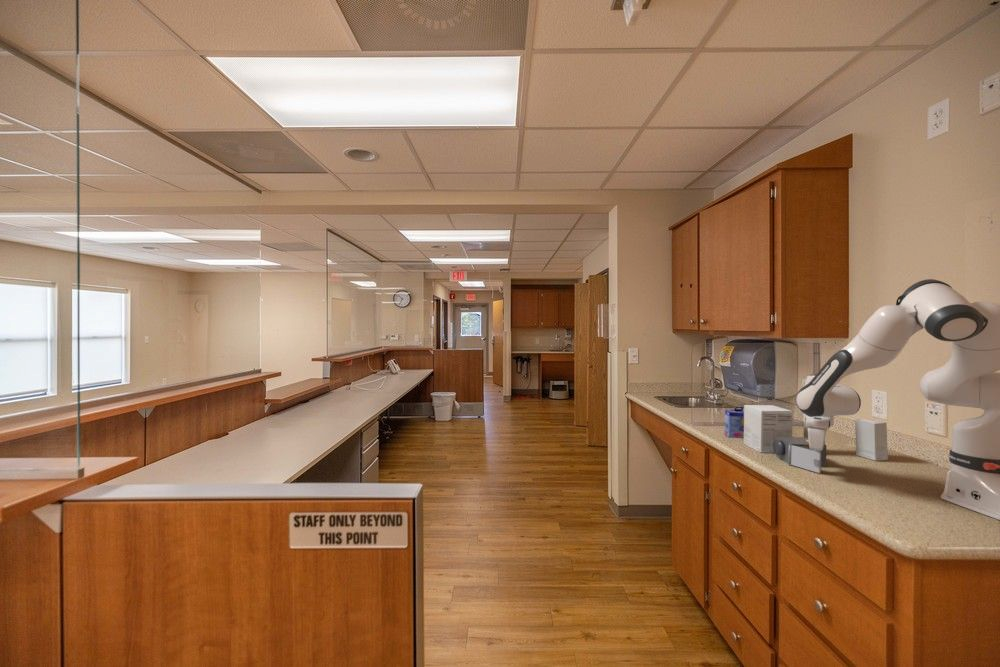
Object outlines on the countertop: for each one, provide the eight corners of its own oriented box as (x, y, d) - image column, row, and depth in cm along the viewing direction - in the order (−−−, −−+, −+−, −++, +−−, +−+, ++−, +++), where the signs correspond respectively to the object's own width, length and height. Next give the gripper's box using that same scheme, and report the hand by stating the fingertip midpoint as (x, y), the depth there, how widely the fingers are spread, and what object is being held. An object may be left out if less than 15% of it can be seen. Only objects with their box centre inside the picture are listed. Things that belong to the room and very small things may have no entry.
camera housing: (826, 466, 157) (826, 443, 157) (787, 465, 159) (787, 441, 159) (807, 457, 168) (808, 435, 168) (771, 456, 170) (771, 434, 170)
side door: (818, 473, 149) (818, 452, 149) (787, 464, 159) (787, 444, 159) (820, 472, 150) (821, 452, 150) (789, 463, 159) (789, 444, 159)
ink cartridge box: (728, 437, 197) (729, 406, 197) (723, 434, 203) (724, 404, 203) (751, 438, 197) (751, 407, 196) (745, 435, 202) (745, 405, 202)
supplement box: (793, 453, 174) (794, 411, 173) (760, 453, 174) (761, 410, 174) (772, 444, 187) (773, 404, 187) (742, 443, 187) (743, 404, 187)
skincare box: (888, 460, 165) (889, 422, 165) (874, 461, 164) (875, 423, 164) (866, 454, 173) (867, 418, 173) (853, 454, 172) (854, 418, 172)
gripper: (809, 412, 162) (807, 447, 162) (805, 422, 146) (804, 462, 146) (830, 414, 158) (828, 451, 158) (828, 425, 142) (827, 466, 142)
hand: (816, 456), depth 152 cm, fingers closed
